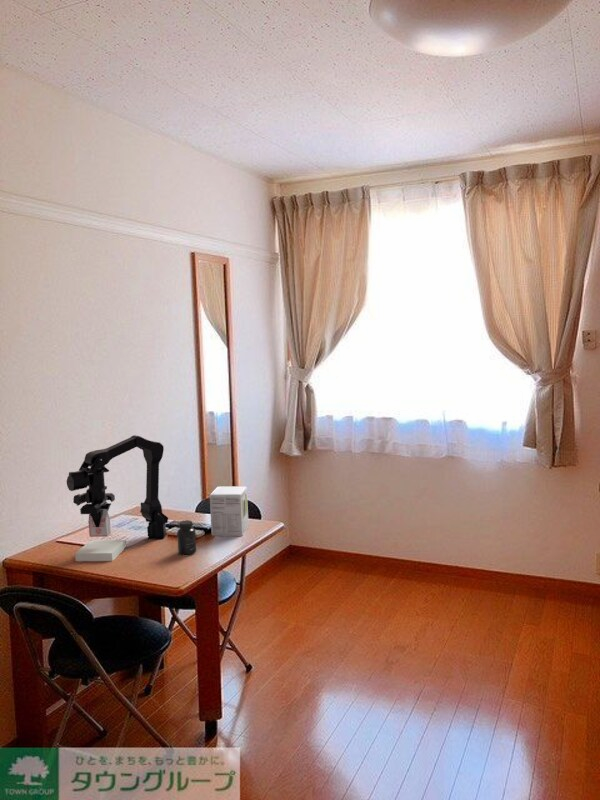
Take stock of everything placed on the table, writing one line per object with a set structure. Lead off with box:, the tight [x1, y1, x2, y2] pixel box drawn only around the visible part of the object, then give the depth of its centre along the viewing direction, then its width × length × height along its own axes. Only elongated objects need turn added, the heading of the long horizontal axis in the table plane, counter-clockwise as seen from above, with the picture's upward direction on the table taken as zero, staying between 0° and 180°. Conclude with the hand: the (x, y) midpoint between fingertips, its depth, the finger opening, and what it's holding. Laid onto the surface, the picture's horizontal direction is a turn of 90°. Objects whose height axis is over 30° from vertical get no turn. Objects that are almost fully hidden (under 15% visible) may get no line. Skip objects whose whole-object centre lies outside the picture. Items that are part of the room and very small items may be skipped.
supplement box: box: [209, 485, 249, 537], centre depth 251 cm, size 13×13×18 cm
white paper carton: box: [88, 509, 112, 538], centre depth 228 cm, size 4×7×10 cm, turn 86°
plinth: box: [74, 539, 127, 562], centre depth 229 cm, size 14×14×3 cm
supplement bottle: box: [176, 519, 197, 556], centre depth 227 cm, size 7×7×12 cm
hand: (99, 525), depth 228 cm, fingers closed on white paper carton, 4 cm apart
